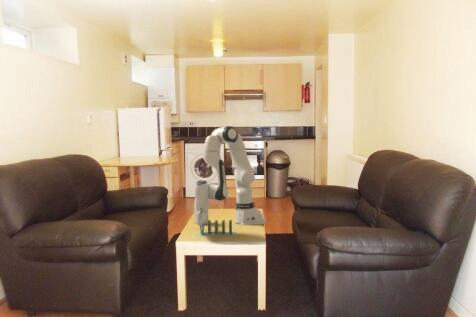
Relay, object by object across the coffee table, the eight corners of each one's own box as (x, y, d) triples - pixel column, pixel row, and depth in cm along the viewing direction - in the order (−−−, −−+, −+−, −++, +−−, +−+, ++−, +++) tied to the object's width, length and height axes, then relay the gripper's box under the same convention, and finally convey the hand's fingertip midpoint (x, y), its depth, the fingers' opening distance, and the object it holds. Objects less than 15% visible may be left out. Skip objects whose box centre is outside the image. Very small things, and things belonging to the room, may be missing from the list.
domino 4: (225, 232, 221) (224, 220, 220) (224, 234, 217) (224, 222, 216) (222, 232, 221) (222, 220, 220) (222, 234, 217) (221, 222, 216)
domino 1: (204, 232, 221) (203, 220, 221) (203, 234, 217) (202, 222, 216) (201, 232, 221) (201, 220, 221) (200, 234, 217) (200, 222, 216)
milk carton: (194, 223, 243) (193, 197, 241) (202, 221, 248) (201, 195, 246) (201, 225, 238) (200, 198, 236) (208, 223, 243) (208, 196, 241)
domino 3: (218, 232, 221) (217, 220, 220) (217, 234, 217) (217, 222, 216) (215, 232, 221) (215, 220, 220) (215, 234, 217) (214, 222, 216)
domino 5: (232, 232, 221) (231, 220, 220) (231, 234, 217) (231, 222, 216) (229, 232, 221) (229, 220, 220) (229, 234, 217) (229, 222, 216)
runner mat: (237, 232, 222) (236, 231, 222) (236, 235, 215) (236, 235, 215) (197, 232, 223) (197, 231, 223) (195, 236, 216) (195, 235, 216)
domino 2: (211, 232, 221) (210, 220, 220) (210, 234, 217) (210, 222, 216) (208, 232, 221) (208, 220, 221) (207, 234, 217) (207, 222, 216)
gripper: (205, 210, 207) (205, 232, 208) (208, 202, 227) (208, 222, 229) (194, 210, 207) (195, 232, 209) (198, 202, 227) (199, 223, 229)
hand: (202, 227), depth 219 cm, fingers open, 8 cm apart
